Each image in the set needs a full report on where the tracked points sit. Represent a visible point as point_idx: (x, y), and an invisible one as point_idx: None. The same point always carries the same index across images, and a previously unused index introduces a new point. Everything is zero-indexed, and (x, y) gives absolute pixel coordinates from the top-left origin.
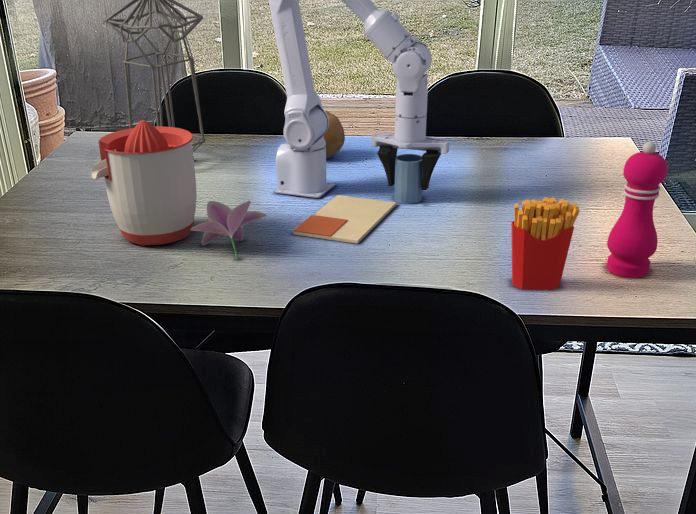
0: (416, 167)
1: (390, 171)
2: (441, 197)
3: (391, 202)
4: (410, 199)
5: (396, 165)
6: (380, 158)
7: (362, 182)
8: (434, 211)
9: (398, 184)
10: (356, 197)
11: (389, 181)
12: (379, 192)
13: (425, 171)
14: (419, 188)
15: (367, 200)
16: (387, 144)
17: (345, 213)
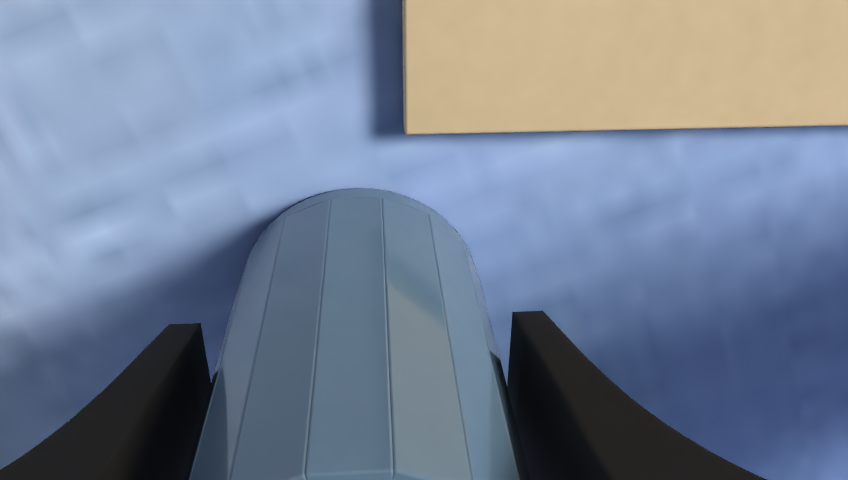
0: (205, 467)
1: (558, 400)
2: None
3: (445, 112)
4: (295, 221)
5: (489, 446)
6: (749, 477)
7: (791, 469)
8: (9, 105)
9: (425, 286)
10: (799, 121)
11: (543, 331)
12: (627, 345)
13: (86, 444)
14: (226, 333)
15: (682, 85)
16: None
17: None
